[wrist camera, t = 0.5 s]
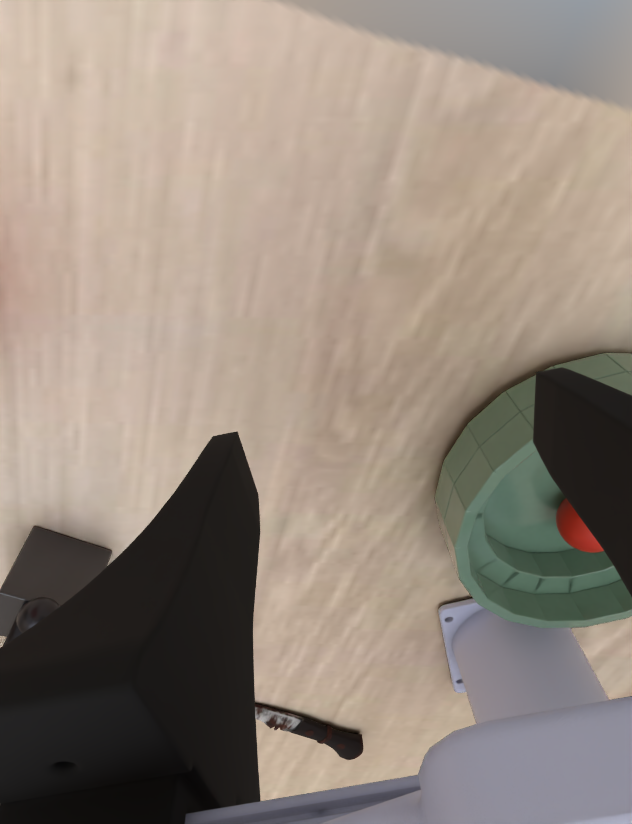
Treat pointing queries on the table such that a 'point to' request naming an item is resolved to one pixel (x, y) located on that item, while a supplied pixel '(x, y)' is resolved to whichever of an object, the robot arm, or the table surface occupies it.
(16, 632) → the crank handle
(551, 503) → the bowl
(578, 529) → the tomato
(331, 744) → the knife
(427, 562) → the table surface
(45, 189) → the table surface
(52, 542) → the dark grey cube
